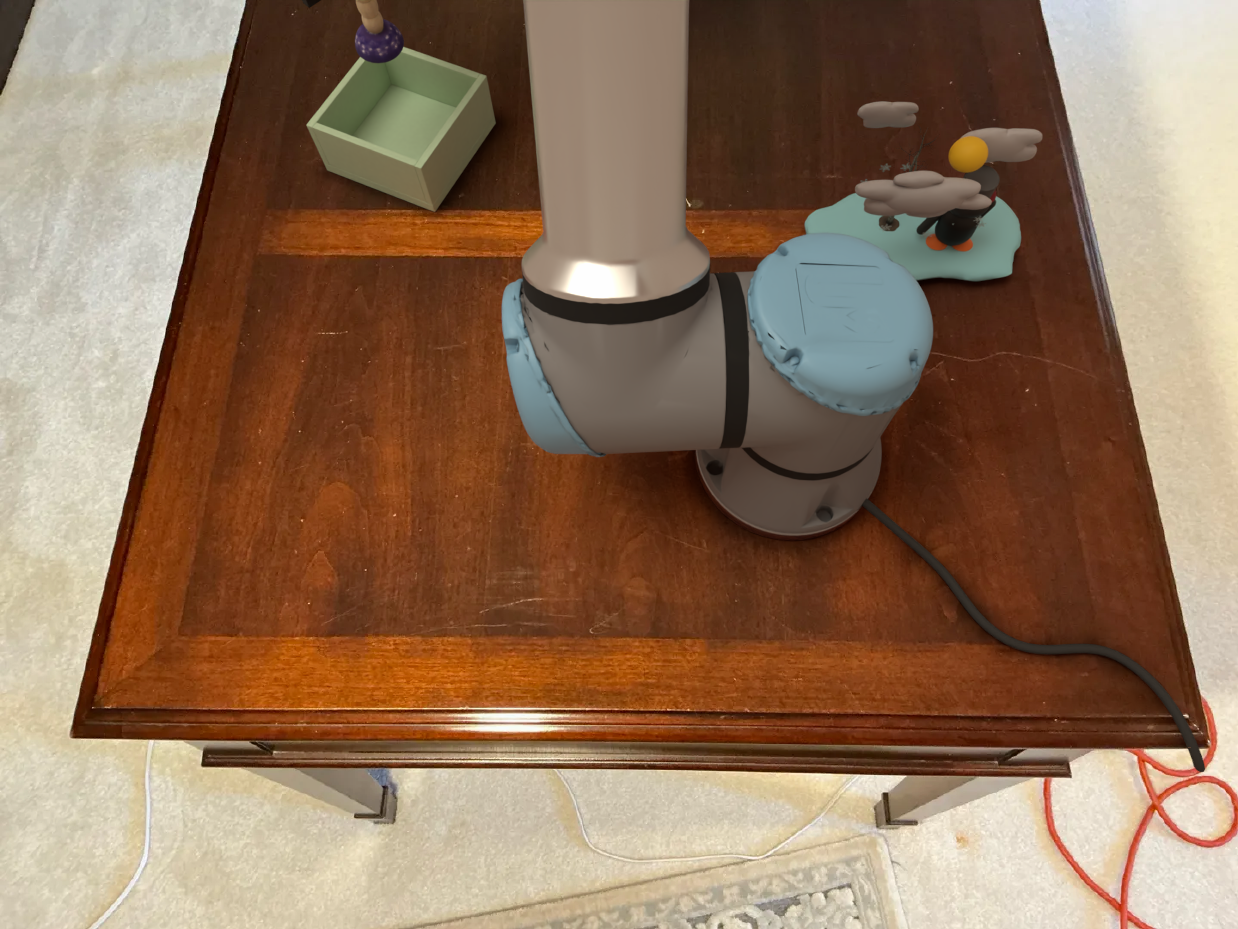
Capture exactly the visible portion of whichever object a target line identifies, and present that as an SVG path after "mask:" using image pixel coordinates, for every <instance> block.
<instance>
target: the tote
mask: <svg viewBox="0 0 1238 929" xmlns="http://www.w3.org/2000/svg"><path fill="white" fill-rule="evenodd" d="M496 124H497V122H496V118H495V113H494V107H493V102H492V96H491V92H490V86H489V81H488V76H487V75H485V74H482V73H479V72H477V71H474V70H471V69H468V68H465V67H462V66H459V65H457V64H454V63H451V62H448V61H445V60H442V59H440V58H436V57H433V56H432V55H428V54H425V53H423V52H420V51H416V50H414V49H411V48H408V47H406V46H404V47H403V49H402V51H401V53H400V54H399V55H398V56H397V57H396V58H395V59H393V60H391V61H389V62H386V63H371V62H368V61H366V60H364V59H362V58H361V57H360V56H359V58H358V59H357V60H356V62H355V63H354V64H353V65H352V66H351V68H350V69H349V70H348V72H347V73H346V74H345V76H343V78H342V79H341V80H340V82H339V83H338V84H337V86H335V88H334V89H333V90H332V92H331V93H330V94H329V96H328V97H327V98H326V99H325V101H324V102H323V103H322V104H321V106H320V107H319V108H318V110H316V112H315V113H314V114H313V116H312V117H311V118H310V120H309V121H308V122H307V123H306V128H307V130H308V132H309V135H310V137H311V138H312V141H313V143H314V145H315V147H316V149H317V152H318V154H319V156H320V158H321V160H322V162H323V164H324V166H325V168H326V171H327V172H331V173H333V174H336V175H337V176H340V177H343V178H345V179H349V180H350V181H353V182H356V183H359V184H362V185H364V186H367V187H369V188H371V189H374V190H377V191H379V192H381V193H385V194H387V195H390V196H392V197H395V198H398V199H400V200H403V201H405V202H408V203H410V204H413V205H416V206H418V207H421V208H424V209H426V210H429V211H430V212H434V213H435V212H436V211H437V210H438V209H439V207H440V206H441V204H443V201H444V200H445V198H446V197H447V195H448V194H449V192H450V191H451V189H452V188H453V187H454V186H455V184H456V182H457V181H458V179H459V178H460V176H461V175H462V173H463V172H464V170H465V169H466V167H467V166H468V165H469V163H470V162H471V160H472V159H473V157H474V156H475V154H476V153H477V151H478V150H479V149H480V147H481V146H482V144H483V143H484V142H485V140H486V138H487V137H488V135H489V134H490V132H491V131H492V130H493V128H494V127H495V125H496Z"/></svg>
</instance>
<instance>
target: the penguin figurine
mask: <svg viewBox="0 0 1238 929" xmlns="http://www.w3.org/2000/svg"><path fill="white" fill-rule="evenodd" d="M918 112H919V105H918V104H917V103H915V102H910V101H894V102H891V101H886V100H885V101H883V100H881V101H873V102H870V103H866V104H863V105H862V106H861V107H859V108H858V110H857V117H859V118H861V119H862V123H863V124H862V125H863V127H865V128H868V129H882V128H887V127H890V128H896V129H897V128H907V127H908V128H909V127H912V126H914V125H915V123H916V121H917V116H916V115H915V113H918ZM918 128H919V130H920V131H919V132H922V128H921V126H918ZM928 129H929V127H927V129H926V131H925V133H924V134H923V136H920V138H921V143H920V146H919V150H917V151H915V152H914V153H912V154H911V152H912V151H913V149H914V148H912V149H911V150H909V153H908V151H906V150H904V149H903V148H902V146H901V145H900V143H899V146H900V147H897V148H896V147H895V148H896V149H901V150H902V151H903V152H904V153H906V154H908V155H907V157H908V159H906V161H907V162H906V164H901V166H902V167H900V170H903V173H899V174H897V175H895V176H894V178H893V179H874V180H868V178H865V179H864V180H860V182H859V183H857V184H856V185H855V187H854V193H851V194H849V195H847V196H846V197H843V198H842V199H841V200H839V201H837V202H836V203H834V204H832V205H830V206H826V207H821V208H818V209H816V210H814V211H812V212H811V213H810V214H809V215H808V216H807V217H806V219H805V221H804V230H805V235H806V234H812V233H837V234H844V235H849V236H852V237H856V238H859V239H862V240H865V241H867V242H870V243H872V244H874V245H876V246H878V247H879V248H881V249H883V250H884V251H886V252H887V253H888V254H889V258H890V259H891V260H892V261H894V262H895V263H897V264H900V265H903V266H904V267H905V268H906V269H907V270H908V271H909V272H910V273H911V274H912V275H913V277H914V278H915V279H916V281H917V282H918V281H923V280H930V279H938V278H941V279H954V280H962V281H966V282H981V281H989V280H994V279H1000V278H1001V279H1002V278H1005V277H1008V276H1010V275H1012V274H1013V262H1014V258H1015V254H1016V251H1017V250H1018V249H1019V248H1020V247H1021V242H1022V232H1021V223H1020V220H1019V218H1018V216H1017V215H1016V213H1015V212H1014V211H1013V209H1012V208H1011V207H1010V206H1009V204H1007V202H1005V201H1004V200H1003V199H1002V198H1000V197H998V196H997V190H996V189H997V188H998V186H999V184H1000V181H1001V180H1000V175H999V173H998V172H997V171H996V169H994V168H993V167H991V166H989V165H987V164H986V163H993V162H1004V163H1019V162H1020V163H1021V162H1026V161H1029V160H1032V159H1033V158H1035V156H1036V154H1037V151H1038V148H1037V146H1036V144H1038V143H1041V142H1042V140H1043V133H1042V132H1041V131H1040V130H1038V129H1035V128H1018V127H1017V128H1015V127H1014V128H1003V127H986V128H980V129H975V130H971V131H968V132H967V133H965V134H964V135H962V136H961V137H960V138H959V139H957V140H956V141H955V142H953V144H952V145H951V147H950V149H949V151H948V156H947V157H948V162H949V164H950V166H951V168H952V169H953V170H955V171H957V172H959V173H963V174H964V173H965V174H964V175H963V177H950V176H949V177H947V176H943V175H942V174H940V173H939V172H937V171H932V170H927V169H928V167H927V165H926V166H924V163H926V160H923V163H922V165H921V166H920V165H918V162H920V160H918V158H919V156H920V154H921V152H922V149H924V147H927V146H928V147H930V149H931V150H933V151H934V149H933V148H931V146H932V147H933V146H935V144H932V143H933V142H934V141H936V139H937V137H939V135H940V134H939V135H937V137H935V138H934V139H933V140H931V141H930V142H928V143H927V142H925V143H924V140H925V135H926V133H927V131H928ZM908 146H911V145H910V143H908ZM911 157H913V159H912V163H911ZM890 168H891V165H888V163H885V164H884V165H882V164H881V167H880V168H879V169H878V171H880V170H881V172H884V171H890V170H891V169H890ZM913 168H914V169H913ZM917 168H918V169H917ZM920 169H923V170H920ZM906 170H907V171H906Z"/></svg>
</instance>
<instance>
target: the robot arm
mask: <svg viewBox="0 0 1238 929" xmlns="http://www.w3.org/2000/svg"><path fill="white" fill-rule="evenodd" d="M301 1H302V3H303V4H304V5H305V6H306V7H307V8H308V9H310V8H312V7H313V6H315V5H316V4H318V3H320V2H321V1H322V0H301ZM522 2H523V13H524V26H525V38H526V48H527V61H528V70H529V71H528V72H529V84H530V94H531V96H530V97H531V105H532V106H531V108H532V118H533V128H534V130H533V132H534V140H535V141H534V142H535V151H536V152H535V153H536V154H535V155H536V163H537V175H538V176H537V177H538V187H539V188H538V189H539V198H540V200H539V201H540V209H541V210H540V211H541V212H540V213H541V221H542V233H541V235H540V236H539V237H538V238H537V239H536V240H535V241H534V243H533V244H531V246H529V248H527V250H526V251H525V253H524V254H523V256H522V259H521V274H522V278H518V279H517V280H515V281H512V282H510V283H508V284H507V285H506V286H505V288H504V290H503V294H502V299H501V329H502V336H503V340H504V345H505V352H506V356H505V358H506V366H507V371H508V376H509V381H510V385H511V388H512V389H511V390H512V393H513V397H514V401H515V404H516V408H517V412H518V415H519V417H520V420H521V422H522V425H523V428H524V430H525V431H526V433H527V435H528V436H529V438H530V440H531V441H532V442H533V443H534V444H535V445H536V446H537V447H539V448H540V449H542V450H543V451H545V452H547V453H549V454H554V455H589V456H591V457H595V458H603V457H606V456H607V455H614V454H636V453H637V454H638V453H657V452H658V453H659V452H679V451H680V452H681V451H694V462H695V468H696V473H697V476H698V479H699V481H700V483H701V485H702V487H703V490H704V491H705V493H706V495H707V496H708V498H709V499H710V501H711V502H712V503H713V504H714V506H715V507H716V508H717V509H718V510H719V512H721V513H722V514H723V515H724V516H725V517H726V518H727V519H729V520H730V521H732V522H733V523H734V524H736V525H738V526H739V527H741V528H742V529H745V530H746V531H749V532H750V533H753V534H756V535H759V536H762V537H764V538H769V539H774V540H780V541H802V540H803V541H804V540H810V539H815V538H818V537H822V536H825V535H827V534H830V533H832V532H834V531H836V530H837V529H840V528H841V527H843V526H844V525H845V524H847V523H848V522H849V521H850V520H851V519H853V518H854V517H855V516H856V515H857V514H858V513H859V511H861V509H862V508H864V509H865V510H866V511H867V512H868V513H870V515H872V516H873V517H874V518H876V520H878V521H879V522H880V523H881V524H882V525H883V526H885V527H886V528H887V529H888V530H890V532H892V533H893V534H894V535H895V536H896V537H898V538H899V539H900V540H901V541H902V543H905V545H907V546H908V547H909V548H910V549H911V550H913V551H914V552H915V553H916V554H917V555H918V556H920V557H921V558H922V559H923V560H924V561H925V562H926V563H927V564H928V565H929V566H930V567H931V568H932V569H933V570H934V571H935V572H936V573H937V574H938V575H939V576H940V577H941V579H942V580H943V581H944V583H945V584H946V586H948V588H949V589H950V590H951V592H952V593H953V595H954V596H955V597H956V599H957V600H958V602H960V604H961V605H962V607H963V608H964V609H965V611H966V613H968V614H969V616H970V617H971V618H972V619H973V620H974V621H975V622H976V623H977V624H978V625H979V626H980V627H981V628H982V629H983V630H984V631H985V632H986V633H987V634H989V635H990V636H992V637H993V638H994V639H995V640H998V641H999V642H1000V643H1002V644H1004V645H1005V646H1008V647H1010V648H1013V649H1015V650H1017V651H1021V652H1025V653H1029V654H1035V655H1068V654H1069V655H1070V654H1089V655H1090V654H1091V655H1098V656H1103V657H1106V658H1109V659H1112V660H1113V661H1116V662H1118V663H1119V664H1121V665H1123V666H1124V667H1126V668H1127V669H1129V670H1130V671H1132V672H1133V673H1134V674H1135V675H1136V676H1138V677H1139V678H1140V679H1141V680H1142V681H1143V682H1144V683H1145V684H1146V685H1147V686H1149V688H1150V689H1151V690H1152V691H1153V692H1154V693H1155V695H1156V696H1157V697H1158V698H1159V700H1160V702H1162V704H1163V706H1164V707H1165V708H1166V710H1167V712H1168V713H1169V714H1170V716H1171V717H1172V720H1173V721H1174V723H1175V725H1176V727H1177V729H1178V730H1179V733H1180V735H1181V737H1182V740H1183V741H1184V744H1185V746H1186V748H1187V751H1188V753H1189V756H1190V759H1191V760H1192V761H1191V762H1192V765H1193V768H1194V769H1195V770H1196V771H1197V772H1199V773H1205V771H1206V766H1205V765H1206V764H1205V762H1204V757H1203V755H1202V753H1201V750H1200V747H1199V745H1198V742H1197V740H1196V737H1195V735H1194V733H1193V731H1192V729H1191V727H1190V725H1189V723H1188V721H1187V720H1186V718H1185V716H1184V714H1183V713H1182V711H1181V709H1180V708H1179V706H1178V705H1177V703H1176V702H1175V700H1174V699H1173V698H1172V696H1171V695H1170V694H1169V692H1168V691H1167V690H1166V689H1165V687H1164V686H1163V685H1162V684H1161V683H1160V682H1159V681H1158V680H1157V679H1156V677H1154V676H1153V675H1152V673H1150V672H1149V671H1148V670H1147V669H1145V668H1144V667H1143V666H1142V665H1140V664H1139V662H1137V661H1135V660H1133V659H1132V658H1131V657H1130V656H1128V655H1126V654H1124V653H1122V652H1121V651H1118V650H1116V649H1113V648H1111V647H1107V646H1106V645H1105V646H1104V645H1100V644H1094V643H1063V644H1061V643H1060V644H1038V643H1030V642H1027V641H1023V640H1020V639H1017V638H1015V637H1013V636H1011V635H1009V634H1007V633H1005V632H1004V631H1003V630H1000V629H999V628H998V627H997V626H995V625H994V624H993V623H992V622H991V621H989V620H988V619H987V617H985V615H983V613H981V612H980V610H979V609H978V608H977V607H976V606H975V604H974V603H973V601H972V600H971V599H970V597H969V596H968V595H967V593H966V592H965V590H964V589H963V588H962V587H961V586H960V584H959V582H957V580H956V578H955V577H953V575H952V574H951V573H950V571H949V570H948V569H947V568H946V567H945V566H944V565H943V563H941V562H940V561H939V559H938V558H936V557H935V556H934V555H933V554H932V553H931V551H929V550H927V549H926V547H924V545H922V544H921V543H920V542H918V541H917V540H916V539H915V538H914V537H913V536H912V535H910V533H908V532H907V531H906V530H905V529H903V528H902V527H901V526H900V525H899V524H898V523H897V522H895V520H893V519H892V518H891V517H890V516H888V514H886V513H885V512H884V511H882V509H880V508H879V507H878V506H877V505H875V503H873V502H872V501H871V500H869V498H870V497H871V495H872V493H873V491H874V490H875V487H876V485H877V483H878V480H879V476H880V472H881V466H882V458H883V457H882V455H883V454H882V453H883V452H882V451H883V450H882V439H881V437H882V435H883V434H884V432H885V430H886V429H887V427H888V426H889V424H890V422H891V421H892V419H894V417H895V415H896V414H897V412H898V411H899V409H900V408H901V407H902V405H903V404H904V403H905V402H906V401H908V400H909V399H910V397H911V396H912V394H913V393H914V392H915V390H916V388H917V387H918V385H919V383H920V380H921V377H922V373H923V370H924V368H925V366H926V363H927V362H928V359H929V356H930V353H931V350H932V345H933V340H934V321H933V316H932V311H931V307H930V304H929V302H928V299H927V297H926V295H925V294H926V293H925V292H924V291H923V289H922V287H921V286H920V284H919V282H918V281H916V279H915V278H914V277H913V275H912V274H911V273H910V272H909V271H908V270H907V269H906V268H905V267H904V266H903V265H900V264H897V263H895V262H894V261H892V260H891V259H890V258H889V254H888V253H887V252H886V251H884V250H883V249H881V248H879V247H878V246H876V245H874V244H872V243H870V242H867V241H865V240H862V239H859V238H856V237H852V236H849V235H844V234H837V233H812V234H806V233H805V234H803V235H799V236H796V237H793V238H790V239H789V240H787V241H785V242H782V243H781V244H780V245H778V247H777V248H776V250H775V251H773V252H772V253H769V254H768V255H766V257H764V258H763V259H762V260H761V261H760V262H759V263H758V264H757V267H756V270H755V271H754V270H753V271H731V272H730V271H727V272H711V256H710V251H709V249H708V247H707V246H706V245H705V243H703V242H702V241H701V240H700V239H699V238H698V237H697V236H696V235H695V234H693V233H692V232H691V231H690V230H689V228H688V227H687V224H686V223H687V170H688V169H687V165H688V162H687V160H688V159H687V158H688V105H689V104H688V103H689V102H688V100H689V99H688V96H689V94H688V93H689V92H688V91H689V37H690V36H689V32H690V22H689V21H690V0H522ZM1188 747H1191V748H1188Z"/></svg>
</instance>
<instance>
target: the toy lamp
mask: <svg viewBox="0 0 1238 929" xmlns="http://www.w3.org/2000/svg"><path fill="white" fill-rule="evenodd" d="M355 4H356V8H357V10H358V12H359V13H360V15H361V21H362V24H360V25H359V27H358V28H357V31H356V32H355V37H354V46H355V50H356V53H357V55H358V56H359V58H360V57H361V58H362V59H364V60H366V61H368V62H371V63H386V62H389V61H391V60H393V59H395V58H396V57H397V56H398V55H399V54H400V53H401V51H402V49H403V47H405V39H404V36H403V34H402V32H401V31H400V29H399V28H398V27H397V26H396V25H395V24H394V23H393V22H392V21H390V20H387V19H384V18H383V16H382V14H381V12H380V11H379V4H378V1H377V0H355Z"/></svg>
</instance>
